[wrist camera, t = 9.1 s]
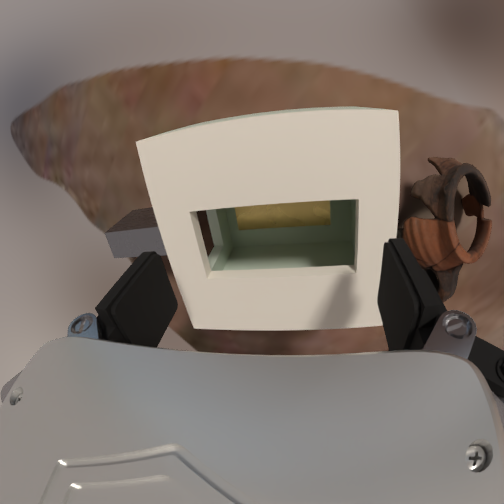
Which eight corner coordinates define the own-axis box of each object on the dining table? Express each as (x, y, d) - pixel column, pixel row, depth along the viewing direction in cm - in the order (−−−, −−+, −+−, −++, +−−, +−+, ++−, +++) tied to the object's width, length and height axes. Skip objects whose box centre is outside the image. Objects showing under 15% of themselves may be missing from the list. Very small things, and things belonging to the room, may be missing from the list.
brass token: (324, 198, 21) (330, 224, 17) (251, 203, 23) (238, 230, 18) (322, 168, 20) (329, 187, 16) (246, 174, 21) (232, 194, 17)
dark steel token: (192, 227, 25) (170, 255, 21) (140, 232, 27) (114, 258, 22) (185, 202, 24) (162, 226, 20) (132, 210, 26) (104, 233, 21)
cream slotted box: (358, 245, 24) (382, 325, 15) (228, 251, 26) (193, 328, 18) (354, 106, 18) (398, 110, 9) (201, 122, 20) (135, 141, 12)
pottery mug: (355, 172, 21) (427, 159, 13) (425, 156, 22) (489, 148, 14) (380, 303, 23) (443, 336, 15) (442, 268, 25) (500, 284, 17)
